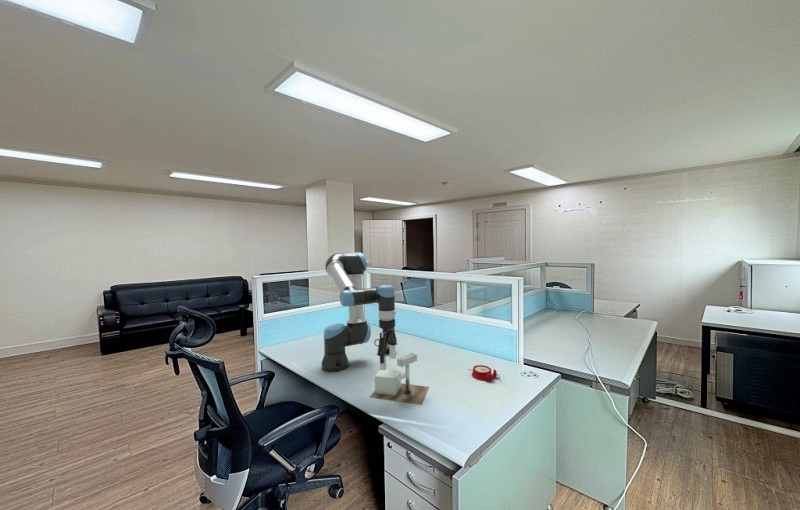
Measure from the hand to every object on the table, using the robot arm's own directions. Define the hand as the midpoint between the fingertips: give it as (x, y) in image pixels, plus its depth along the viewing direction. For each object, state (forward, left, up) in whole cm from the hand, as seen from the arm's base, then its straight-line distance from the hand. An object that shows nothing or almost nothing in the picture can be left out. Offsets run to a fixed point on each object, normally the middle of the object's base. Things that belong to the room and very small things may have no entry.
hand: (388, 364), depth 141 cm
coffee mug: (-19, +49, -14) cm, 54 cm away
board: (+6, 0, -14) cm, 15 cm away
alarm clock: (+43, +29, -14) cm, 53 cm away
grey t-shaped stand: (+9, -1, -12) cm, 15 cm away
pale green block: (0, 0, -13) cm, 13 cm away
